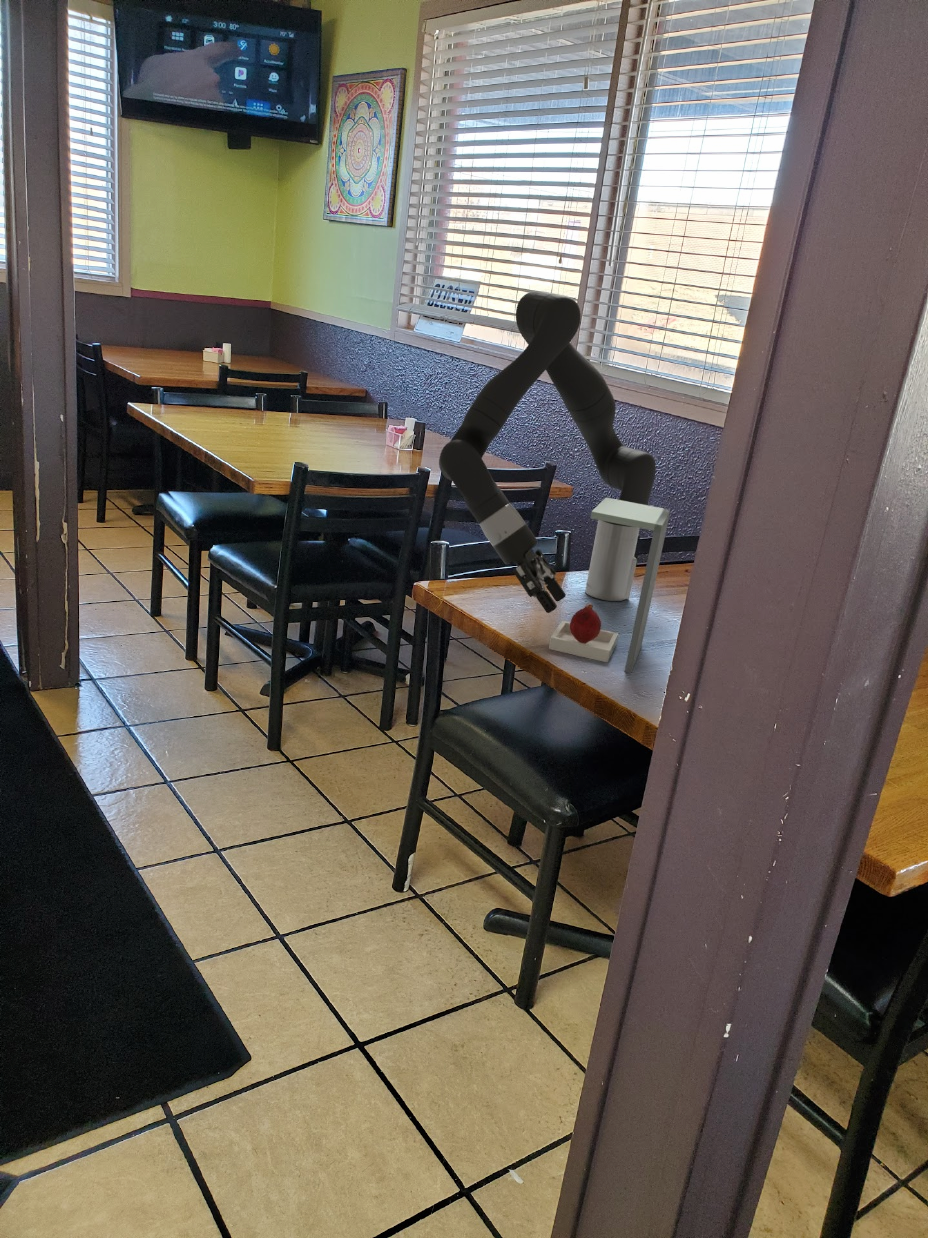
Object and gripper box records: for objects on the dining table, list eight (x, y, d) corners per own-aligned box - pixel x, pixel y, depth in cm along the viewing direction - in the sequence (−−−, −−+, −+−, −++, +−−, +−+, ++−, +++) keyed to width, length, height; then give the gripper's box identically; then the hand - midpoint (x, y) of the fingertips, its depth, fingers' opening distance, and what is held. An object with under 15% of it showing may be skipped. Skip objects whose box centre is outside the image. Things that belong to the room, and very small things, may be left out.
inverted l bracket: (564, 657, 169) (591, 511, 160) (580, 632, 183) (605, 497, 175) (631, 672, 166) (662, 525, 157) (641, 646, 180) (670, 509, 172)
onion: (589, 652, 171) (596, 611, 169) (561, 643, 174) (568, 603, 172) (602, 644, 176) (609, 604, 174) (575, 636, 179) (581, 597, 176)
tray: (548, 648, 172) (550, 637, 171) (560, 631, 182) (562, 620, 181) (607, 662, 169) (609, 650, 168) (616, 644, 179) (618, 633, 178)
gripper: (515, 529, 166) (566, 604, 167) (532, 516, 179) (580, 585, 180) (482, 552, 168) (533, 625, 169) (502, 537, 182) (549, 605, 183)
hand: (557, 604), depth 175 cm, fingers open, 8 cm apart
